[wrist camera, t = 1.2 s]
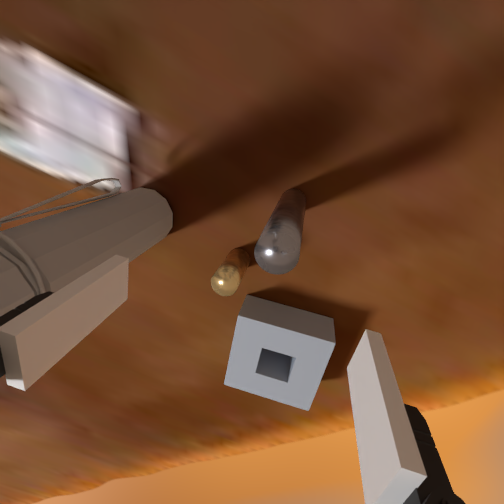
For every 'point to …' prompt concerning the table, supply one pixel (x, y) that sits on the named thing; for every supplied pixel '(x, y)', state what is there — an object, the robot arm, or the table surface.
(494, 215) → the table surface
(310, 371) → the socket block
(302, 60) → the table surface
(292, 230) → the long pin
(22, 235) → the water bottle
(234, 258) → the short pin
